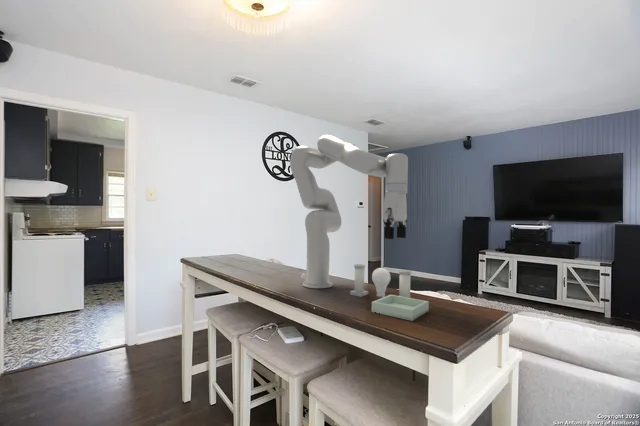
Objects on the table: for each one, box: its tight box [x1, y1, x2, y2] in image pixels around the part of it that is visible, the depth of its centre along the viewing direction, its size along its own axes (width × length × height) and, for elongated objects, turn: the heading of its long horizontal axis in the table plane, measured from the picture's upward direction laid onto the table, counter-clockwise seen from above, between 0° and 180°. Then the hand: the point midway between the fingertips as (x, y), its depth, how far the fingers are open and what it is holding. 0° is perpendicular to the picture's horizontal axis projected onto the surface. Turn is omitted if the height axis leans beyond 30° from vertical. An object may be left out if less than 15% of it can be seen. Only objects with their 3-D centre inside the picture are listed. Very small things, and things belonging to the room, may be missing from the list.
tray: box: [371, 294, 430, 322], centre depth 99 cm, size 13×13×3 cm
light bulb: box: [371, 267, 392, 299], centre depth 114 cm, size 7×7×11 cm
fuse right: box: [398, 269, 412, 298], centre depth 109 cm, size 5×5×11 cm
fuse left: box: [349, 263, 369, 297], centre depth 120 cm, size 5×5×11 cm
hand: (395, 238), depth 112 cm, fingers open, 9 cm apart
